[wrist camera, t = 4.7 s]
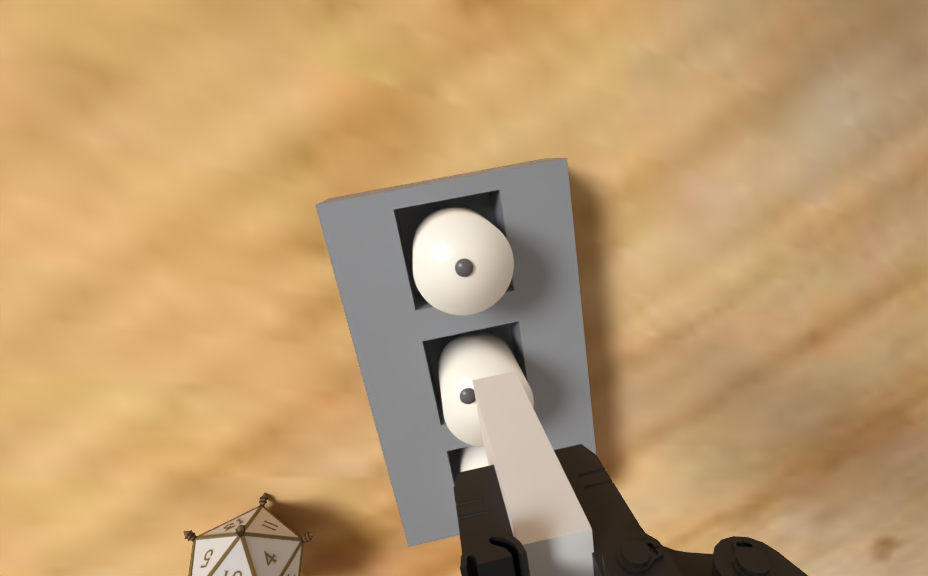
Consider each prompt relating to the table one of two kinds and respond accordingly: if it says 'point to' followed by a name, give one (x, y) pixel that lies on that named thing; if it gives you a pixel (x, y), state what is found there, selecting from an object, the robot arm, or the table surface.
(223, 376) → the table surface
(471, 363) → the button
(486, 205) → the button board
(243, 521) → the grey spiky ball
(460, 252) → the button
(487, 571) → the robot arm
